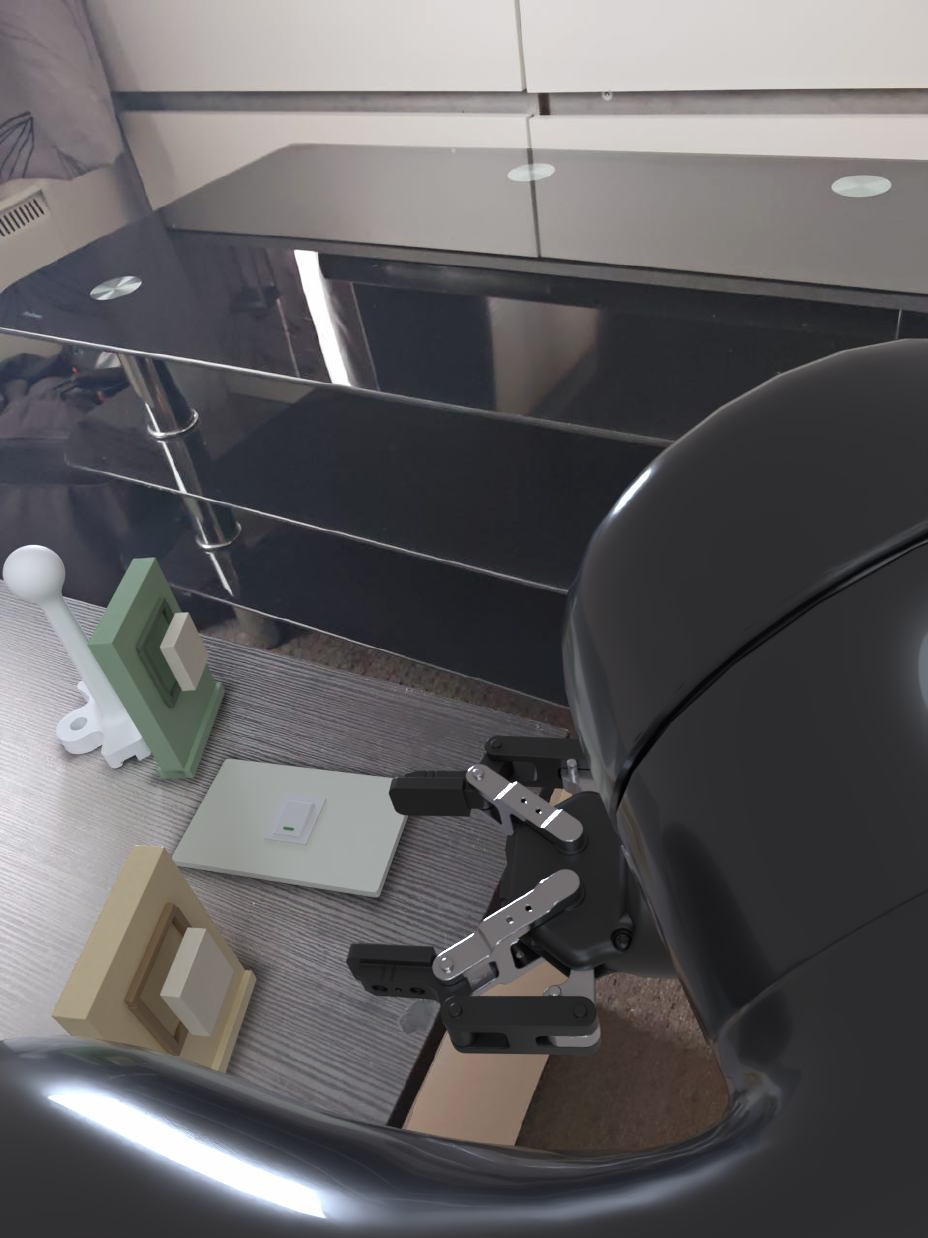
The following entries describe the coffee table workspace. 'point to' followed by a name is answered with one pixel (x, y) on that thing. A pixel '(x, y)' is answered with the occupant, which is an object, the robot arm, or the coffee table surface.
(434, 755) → the coffee table surface
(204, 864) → the light switch
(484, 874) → the coffee table surface
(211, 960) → the near switch
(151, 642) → the far plate
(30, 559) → the joystick
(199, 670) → the far switch
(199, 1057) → the near plate
